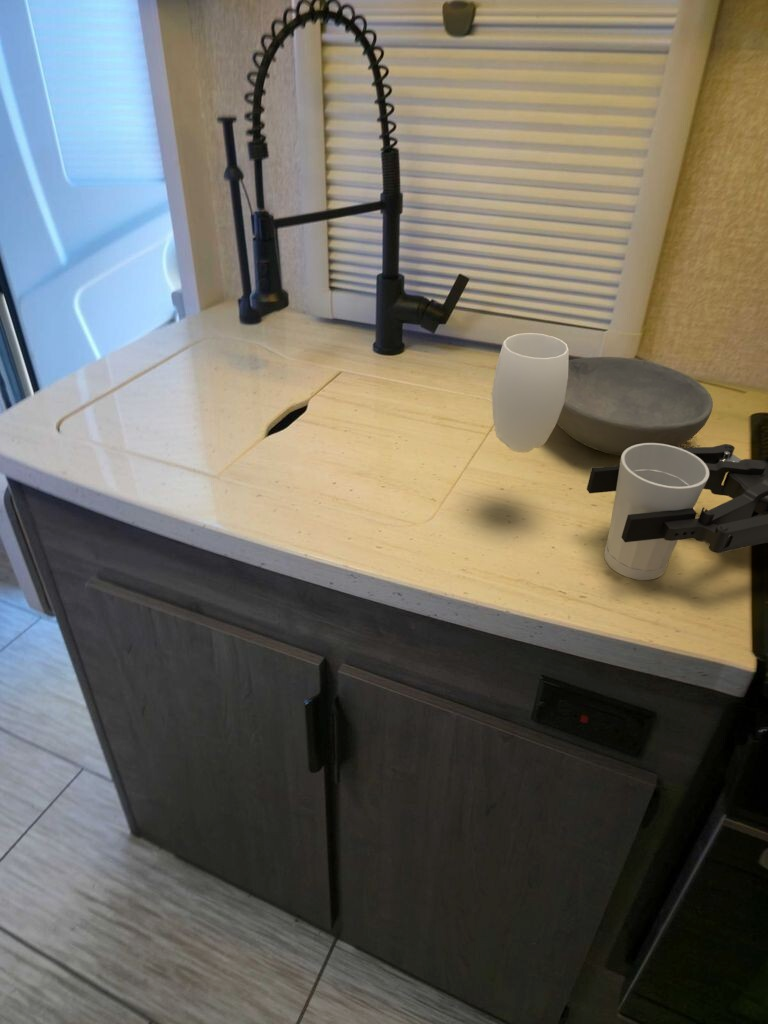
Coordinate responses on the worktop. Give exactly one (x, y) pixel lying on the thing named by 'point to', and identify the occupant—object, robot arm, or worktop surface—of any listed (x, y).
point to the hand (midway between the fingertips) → (607, 503)
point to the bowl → (631, 404)
